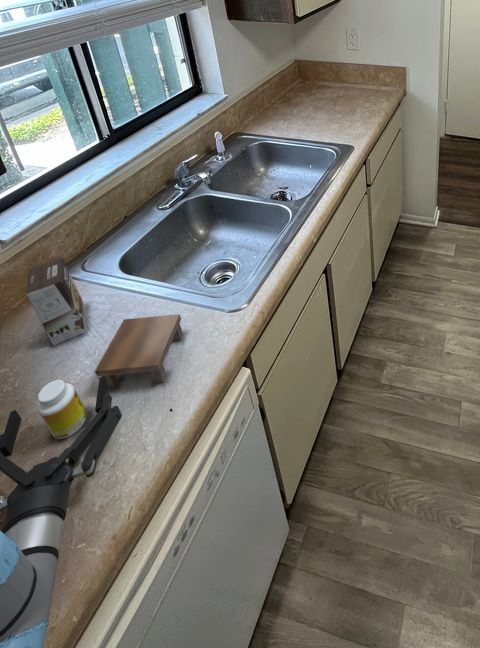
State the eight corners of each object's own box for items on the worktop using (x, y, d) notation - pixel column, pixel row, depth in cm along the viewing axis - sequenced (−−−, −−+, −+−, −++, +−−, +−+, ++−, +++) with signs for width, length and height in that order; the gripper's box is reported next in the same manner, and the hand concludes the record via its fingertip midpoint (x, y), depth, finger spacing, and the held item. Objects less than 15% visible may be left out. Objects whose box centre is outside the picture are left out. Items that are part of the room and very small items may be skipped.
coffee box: (86, 332, 101) (62, 281, 94) (52, 346, 97) (24, 295, 91) (86, 305, 108) (63, 255, 101) (54, 318, 104) (28, 267, 97)
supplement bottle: (94, 416, 84) (76, 383, 80) (63, 446, 79) (42, 412, 75) (77, 403, 86) (59, 370, 82) (46, 431, 82) (25, 397, 77)
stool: (103, 390, 88) (94, 371, 86) (131, 337, 99) (123, 319, 97) (165, 384, 89) (157, 365, 87) (185, 332, 100) (179, 314, 98)
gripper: (-67, 595, 61) (-16, 443, 78) (136, 496, 71) (142, 380, 88) (-94, 571, 58) (-34, 418, 75) (123, 471, 68) (132, 356, 85)
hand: (61, 397), depth 81 cm, fingers open, 13 cm apart
